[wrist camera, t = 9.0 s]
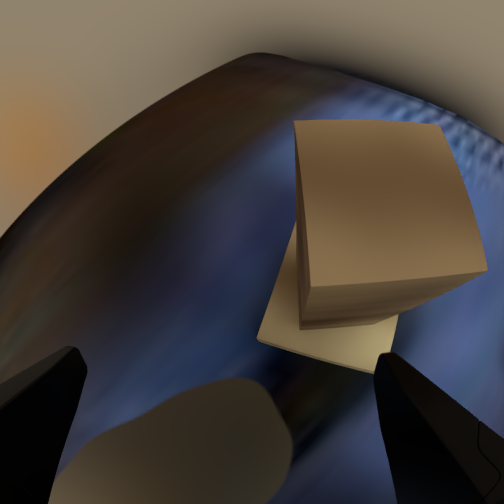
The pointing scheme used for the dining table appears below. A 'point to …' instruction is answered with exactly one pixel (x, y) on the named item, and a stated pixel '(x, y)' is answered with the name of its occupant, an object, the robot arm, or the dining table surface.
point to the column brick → (378, 221)
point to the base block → (320, 340)
